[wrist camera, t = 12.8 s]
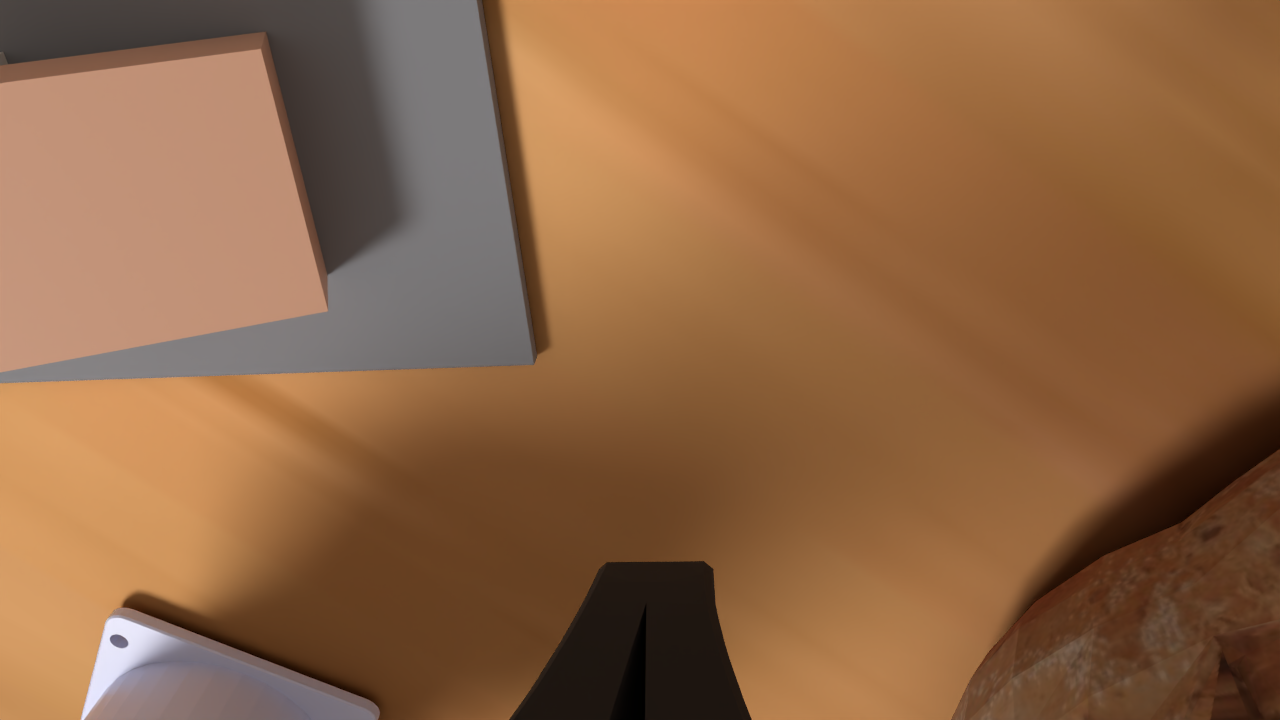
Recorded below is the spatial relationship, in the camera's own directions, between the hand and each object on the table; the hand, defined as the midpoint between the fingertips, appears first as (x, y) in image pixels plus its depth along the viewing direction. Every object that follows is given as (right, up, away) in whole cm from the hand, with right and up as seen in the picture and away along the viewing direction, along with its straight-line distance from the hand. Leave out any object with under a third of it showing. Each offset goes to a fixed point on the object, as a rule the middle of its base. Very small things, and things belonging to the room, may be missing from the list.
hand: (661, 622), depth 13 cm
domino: (-7, +7, +7) cm, 12 cm away
